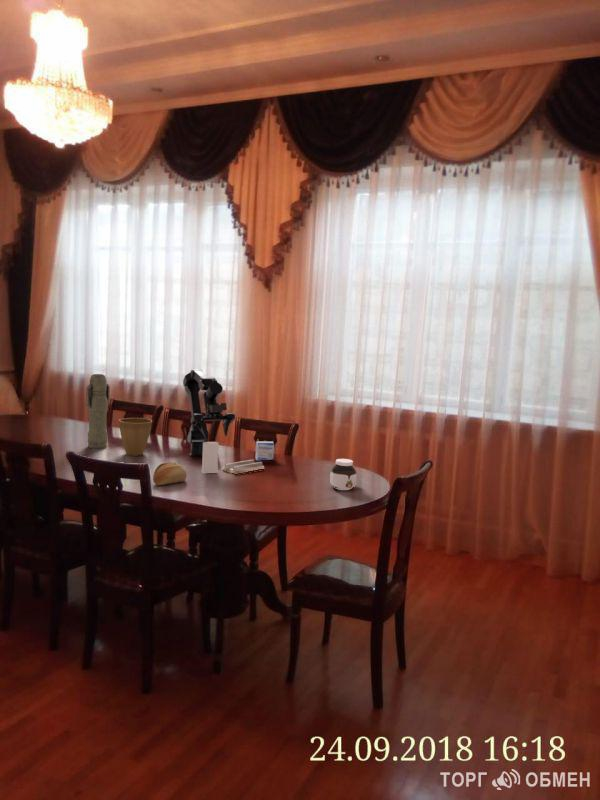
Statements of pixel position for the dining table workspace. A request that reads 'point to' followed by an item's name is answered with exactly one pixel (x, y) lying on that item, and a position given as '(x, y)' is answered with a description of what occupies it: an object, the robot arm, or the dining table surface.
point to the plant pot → (135, 434)
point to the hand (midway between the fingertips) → (215, 436)
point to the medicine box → (264, 450)
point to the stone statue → (97, 410)
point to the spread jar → (343, 474)
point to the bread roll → (169, 474)
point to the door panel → (210, 457)
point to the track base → (243, 466)
